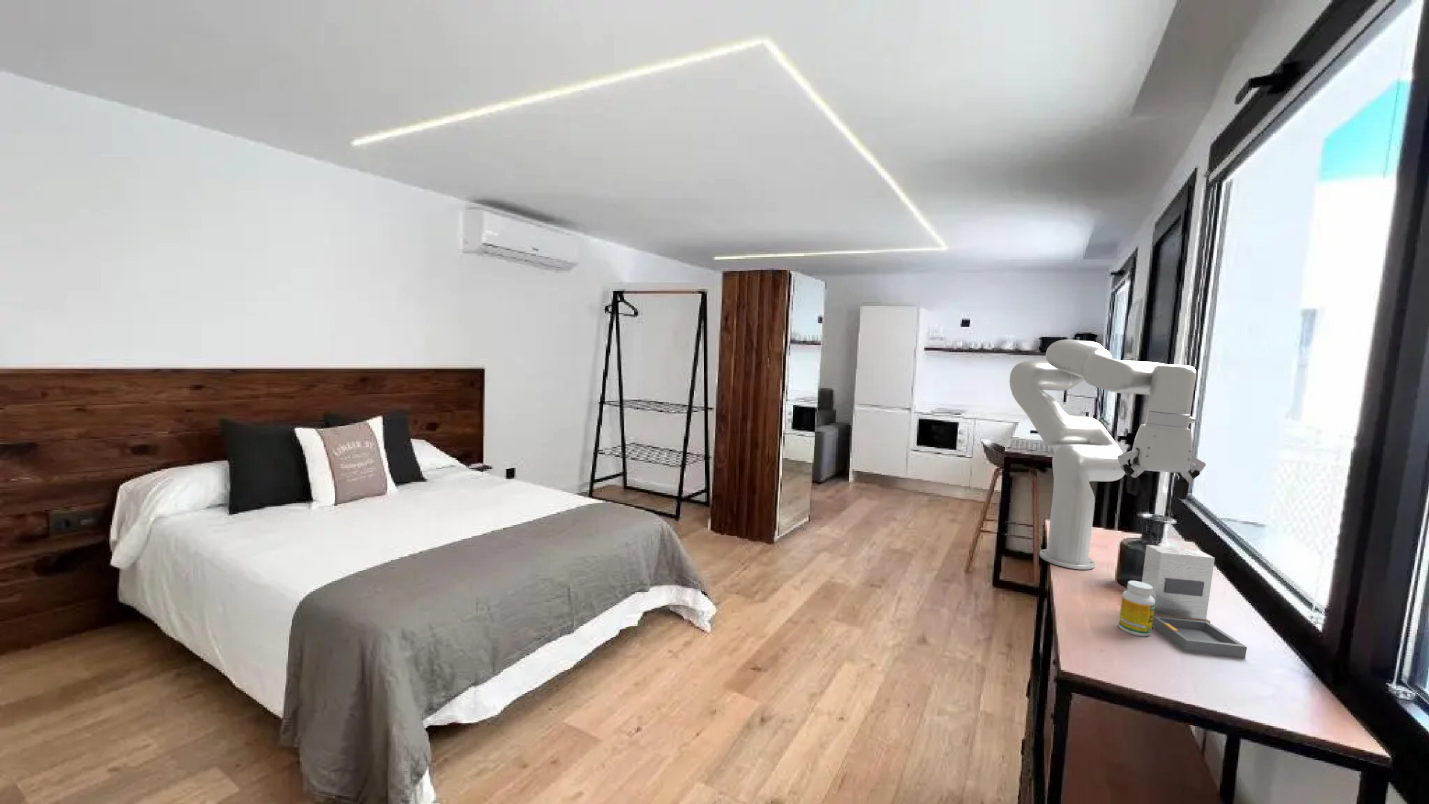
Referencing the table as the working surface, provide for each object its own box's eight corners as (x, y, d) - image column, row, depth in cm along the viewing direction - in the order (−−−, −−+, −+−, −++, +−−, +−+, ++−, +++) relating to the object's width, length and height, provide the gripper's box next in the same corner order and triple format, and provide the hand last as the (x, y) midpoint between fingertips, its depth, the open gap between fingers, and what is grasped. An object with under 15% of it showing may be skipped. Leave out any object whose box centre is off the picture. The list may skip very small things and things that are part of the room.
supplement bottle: (1117, 621, 119) (1123, 576, 118) (1149, 629, 116) (1155, 583, 115) (1118, 631, 114) (1124, 585, 114) (1152, 640, 112) (1158, 592, 111)
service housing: (1134, 609, 125) (1142, 543, 124) (1189, 615, 124) (1198, 548, 123) (1151, 622, 119) (1160, 553, 118) (1209, 628, 118) (1219, 558, 117)
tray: (1151, 626, 118) (1152, 614, 117) (1205, 631, 116) (1207, 620, 116) (1184, 651, 108) (1186, 639, 107) (1245, 658, 106) (1247, 646, 106)
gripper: (1198, 421, 129) (1187, 495, 131) (1115, 415, 132) (1105, 488, 134) (1222, 426, 122) (1210, 504, 124) (1134, 419, 124) (1122, 496, 126)
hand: (1155, 496), depth 129 cm, fingers open, 9 cm apart
